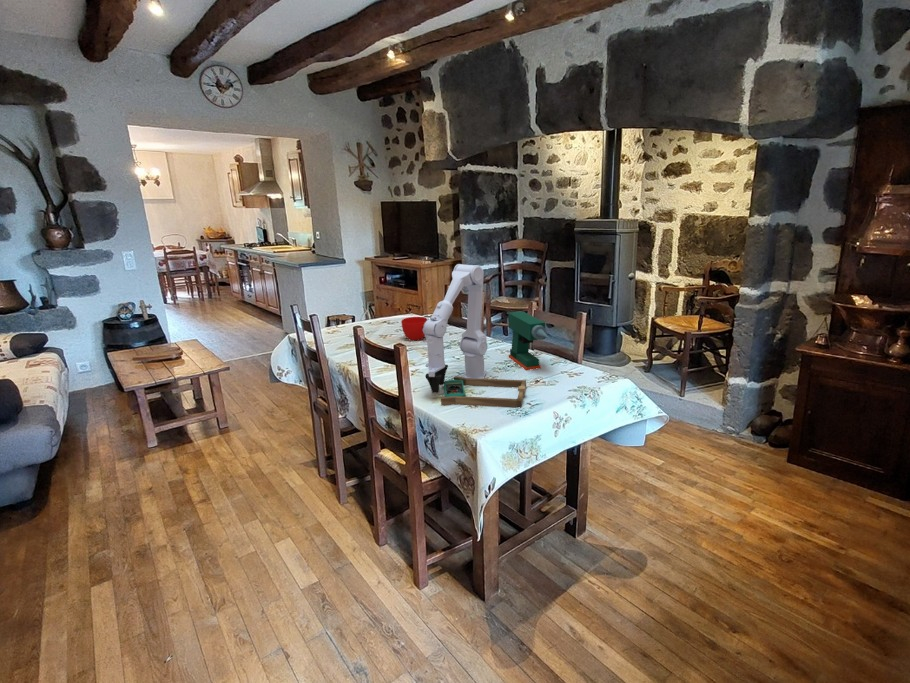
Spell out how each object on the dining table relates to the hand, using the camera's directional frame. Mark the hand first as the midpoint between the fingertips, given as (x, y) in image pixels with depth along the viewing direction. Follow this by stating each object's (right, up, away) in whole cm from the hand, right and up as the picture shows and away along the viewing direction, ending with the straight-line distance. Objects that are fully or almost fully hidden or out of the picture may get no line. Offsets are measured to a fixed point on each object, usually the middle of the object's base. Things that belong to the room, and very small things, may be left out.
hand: (438, 388), depth 179 cm
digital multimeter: (+6, -2, 0) cm, 6 cm away
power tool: (+37, +6, +22) cm, 44 cm away
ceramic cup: (-12, +18, +68) cm, 72 cm away
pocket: (+17, -2, -4) cm, 18 cm away
